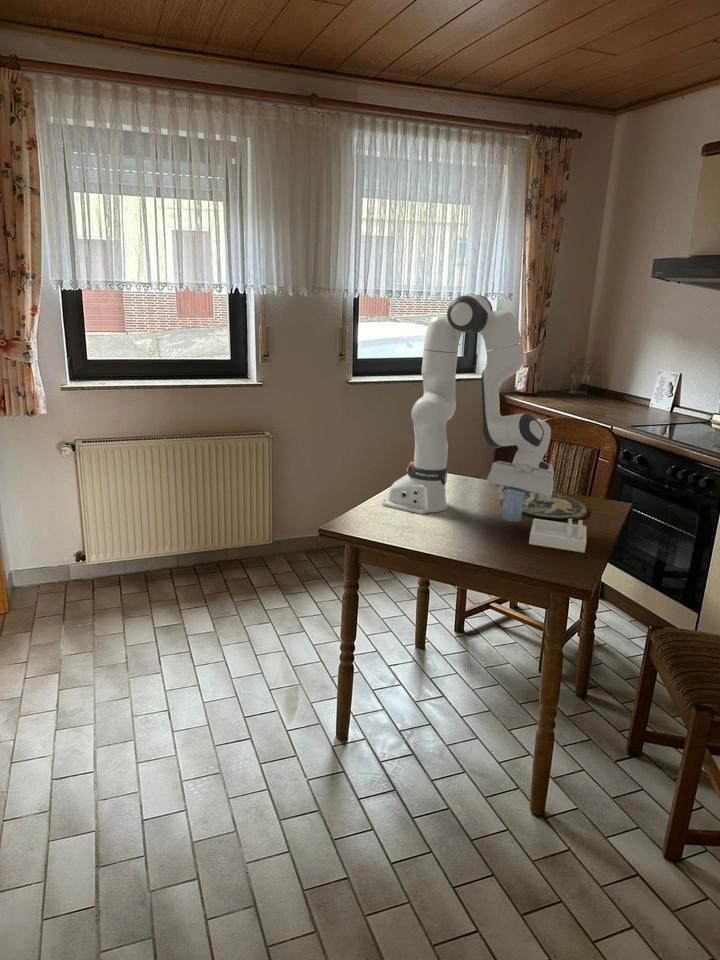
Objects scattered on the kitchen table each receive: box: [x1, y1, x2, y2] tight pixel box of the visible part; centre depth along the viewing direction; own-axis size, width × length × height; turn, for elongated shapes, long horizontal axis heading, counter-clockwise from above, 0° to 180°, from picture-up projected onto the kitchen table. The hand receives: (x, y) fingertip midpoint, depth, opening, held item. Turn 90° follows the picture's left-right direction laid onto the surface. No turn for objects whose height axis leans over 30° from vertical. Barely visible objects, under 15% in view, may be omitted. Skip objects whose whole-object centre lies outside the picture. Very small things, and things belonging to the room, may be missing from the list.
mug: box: [500, 488, 525, 523], centre depth 207 cm, size 6×8×9 cm
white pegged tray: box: [528, 518, 587, 553], centre depth 204 cm, size 16×14×6 cm
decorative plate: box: [499, 492, 588, 522], centre depth 236 cm, size 30×2×30 cm
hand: (513, 503), depth 207 cm, fingers closed on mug, 6 cm apart
